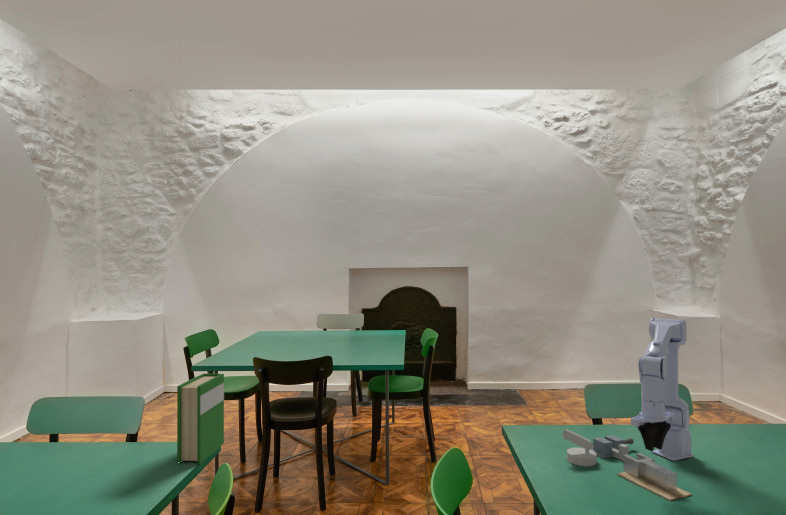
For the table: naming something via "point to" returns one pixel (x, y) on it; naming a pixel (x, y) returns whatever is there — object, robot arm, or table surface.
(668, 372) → the robot arm
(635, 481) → the cork mat
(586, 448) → the wall hook
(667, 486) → the steel fork
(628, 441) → the vise
